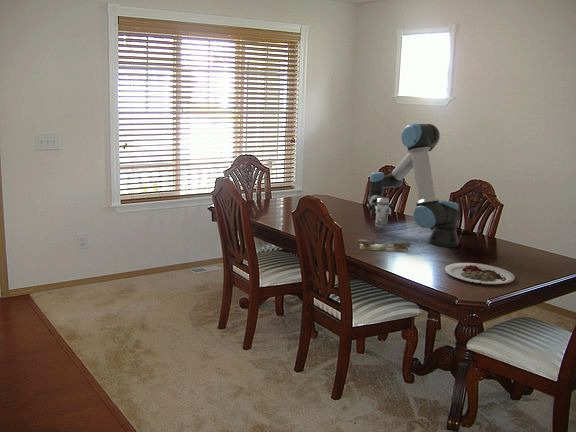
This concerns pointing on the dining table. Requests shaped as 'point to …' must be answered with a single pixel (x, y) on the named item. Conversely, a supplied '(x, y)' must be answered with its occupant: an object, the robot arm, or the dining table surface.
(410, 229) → the dining table surface
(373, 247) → the shaft bench
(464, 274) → the plated food
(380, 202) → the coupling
